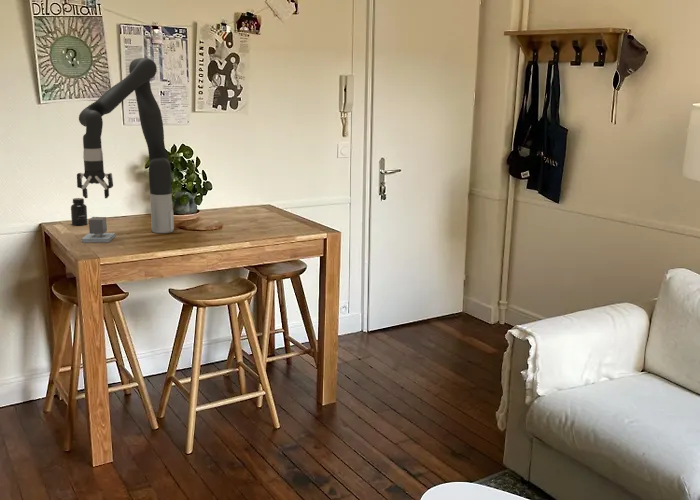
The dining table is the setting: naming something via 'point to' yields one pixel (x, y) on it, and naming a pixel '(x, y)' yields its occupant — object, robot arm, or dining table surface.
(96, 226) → the block
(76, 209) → the supplement bottle
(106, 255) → the dining table surface
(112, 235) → the post base
